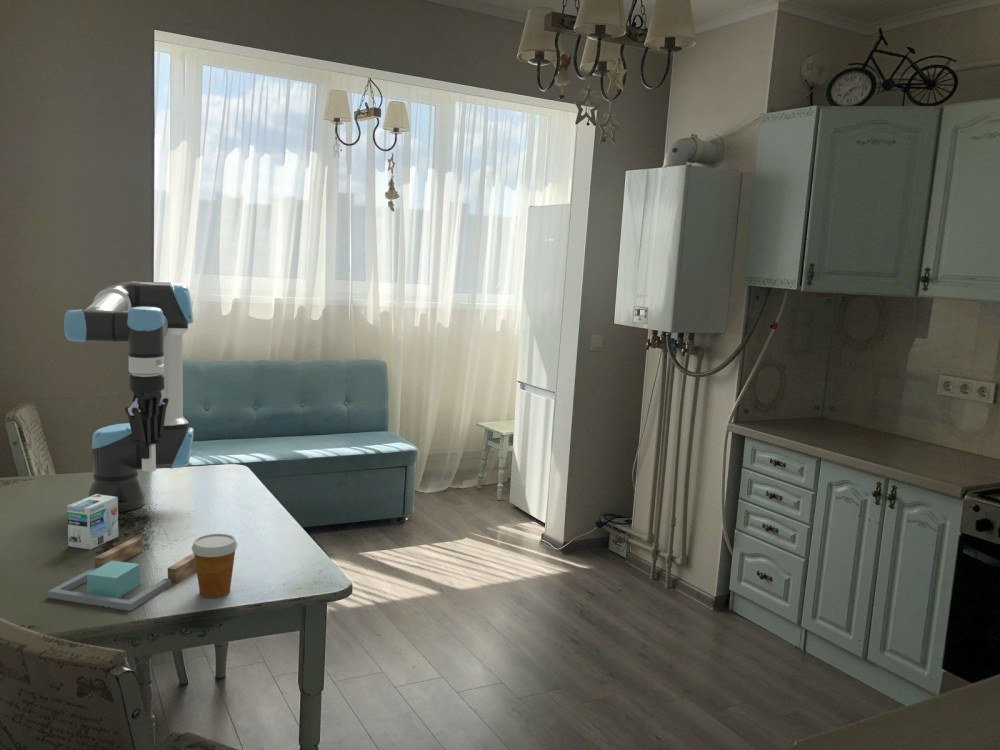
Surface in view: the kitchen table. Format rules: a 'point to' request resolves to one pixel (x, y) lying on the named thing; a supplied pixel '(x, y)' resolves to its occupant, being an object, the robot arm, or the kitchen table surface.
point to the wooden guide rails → (135, 547)
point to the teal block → (113, 579)
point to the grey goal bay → (67, 595)
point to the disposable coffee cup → (214, 563)
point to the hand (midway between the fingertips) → (148, 470)
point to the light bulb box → (92, 521)
